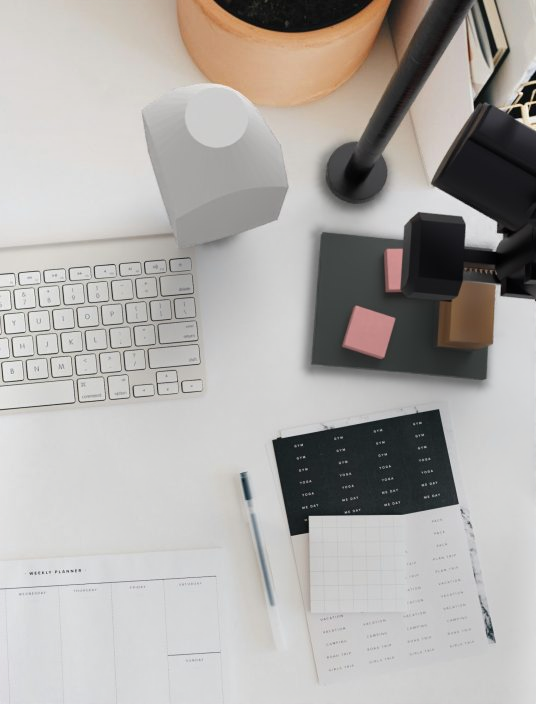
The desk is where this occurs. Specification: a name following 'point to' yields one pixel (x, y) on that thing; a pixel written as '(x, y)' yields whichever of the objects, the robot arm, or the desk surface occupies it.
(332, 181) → the desk lamp
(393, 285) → the crumb
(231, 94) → the light fixture
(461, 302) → the brown block
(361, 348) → the crumb
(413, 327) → the slate
